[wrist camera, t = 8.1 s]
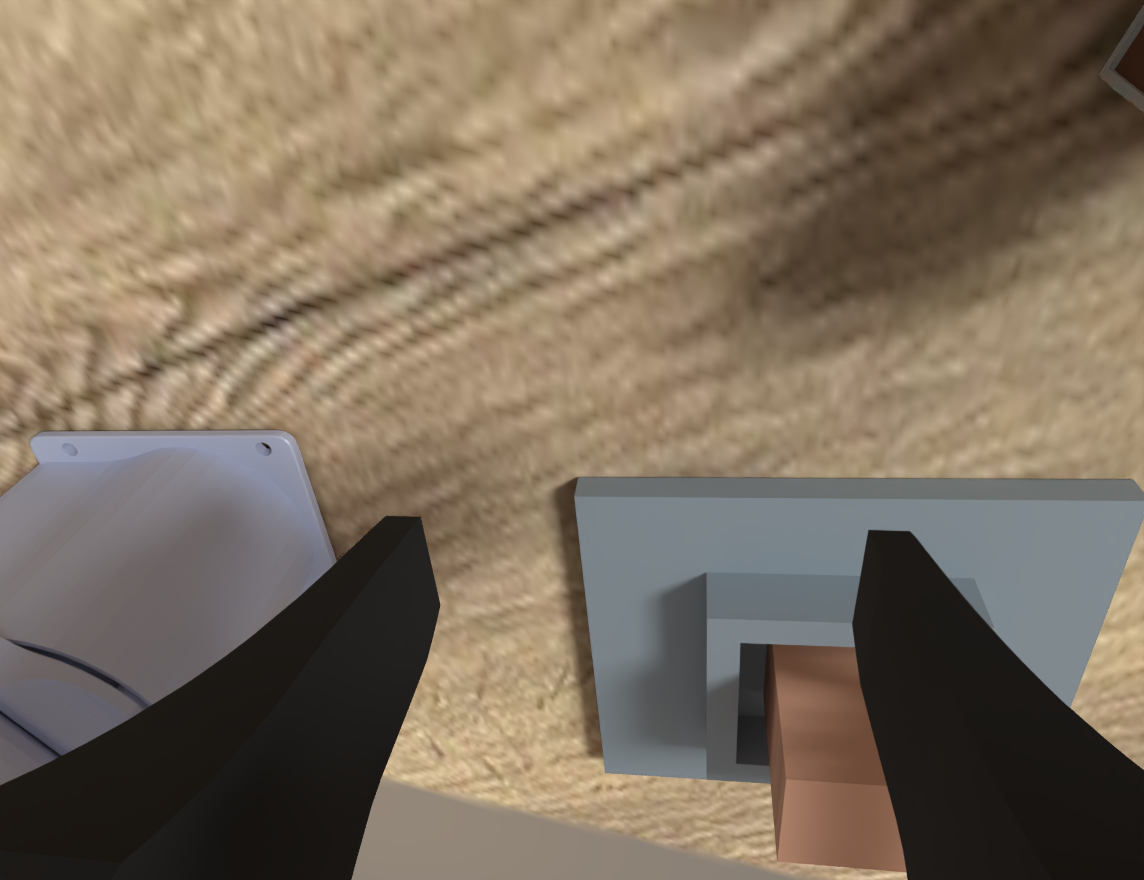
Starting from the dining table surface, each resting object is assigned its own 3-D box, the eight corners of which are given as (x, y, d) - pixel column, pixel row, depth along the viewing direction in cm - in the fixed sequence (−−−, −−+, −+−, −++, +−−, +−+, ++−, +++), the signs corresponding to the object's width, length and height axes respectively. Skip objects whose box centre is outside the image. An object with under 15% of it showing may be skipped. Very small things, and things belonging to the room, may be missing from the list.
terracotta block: (763, 694, 28) (777, 861, 23) (769, 613, 26) (786, 779, 21) (881, 700, 27) (921, 873, 23) (898, 618, 25) (946, 789, 20)
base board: (607, 751, 33) (600, 820, 30) (578, 477, 25) (565, 539, 23) (1025, 776, 30) (1054, 853, 28) (1133, 479, 23) (1187, 549, 20)
